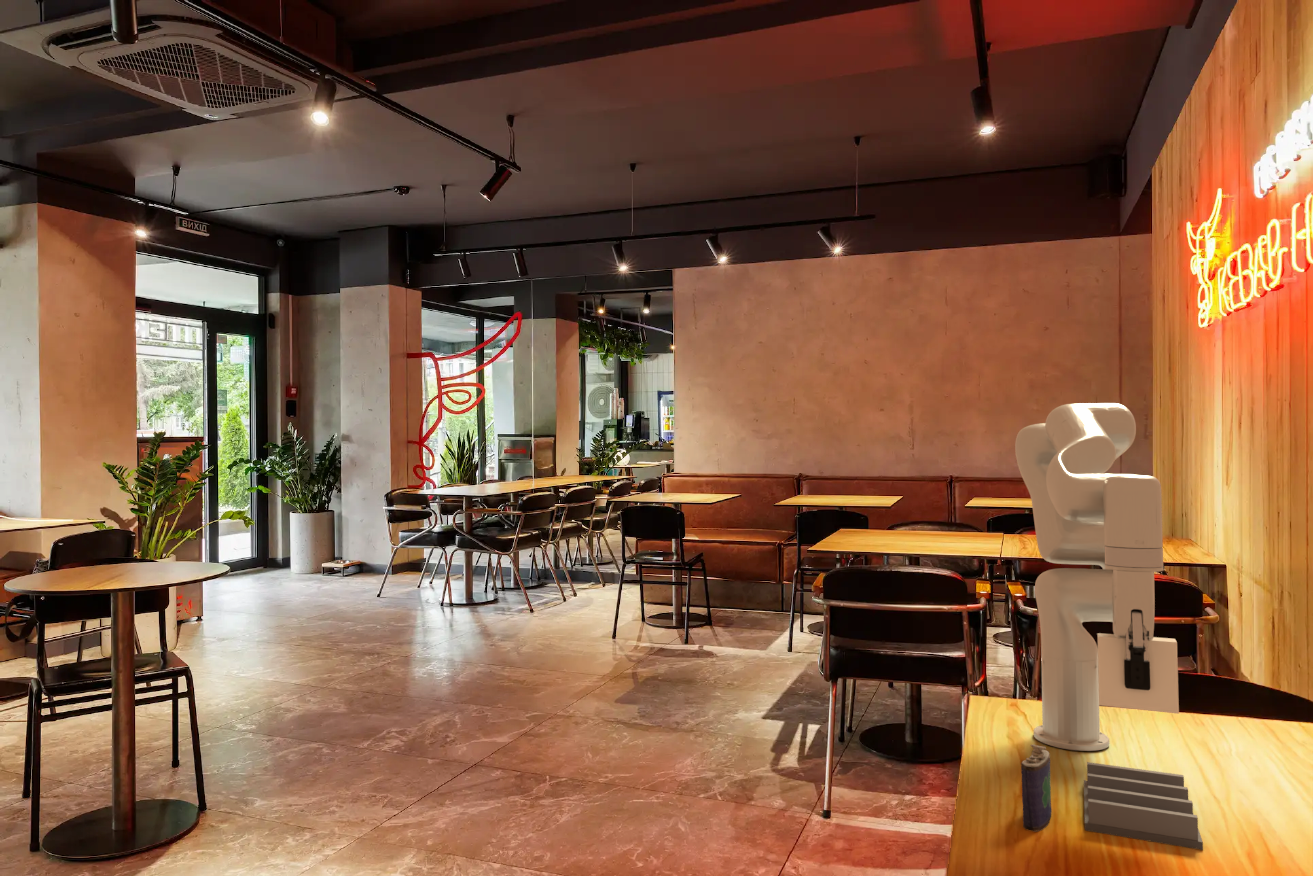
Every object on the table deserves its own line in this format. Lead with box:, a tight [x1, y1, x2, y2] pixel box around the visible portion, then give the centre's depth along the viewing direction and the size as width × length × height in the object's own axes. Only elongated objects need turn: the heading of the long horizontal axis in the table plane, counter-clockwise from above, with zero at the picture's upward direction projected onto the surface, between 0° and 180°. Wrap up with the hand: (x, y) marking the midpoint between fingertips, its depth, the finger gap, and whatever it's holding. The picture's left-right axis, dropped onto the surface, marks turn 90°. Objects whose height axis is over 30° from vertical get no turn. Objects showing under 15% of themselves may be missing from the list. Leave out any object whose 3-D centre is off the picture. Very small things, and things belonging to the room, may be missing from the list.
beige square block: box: [1096, 632, 1180, 714], centre depth 125 cm, size 3×10×10 cm, turn 64°
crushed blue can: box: [1020, 743, 1053, 832], centre depth 123 cm, size 9×3×11 cm, turn 144°
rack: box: [1083, 761, 1204, 851], centre depth 125 cm, size 18×14×4 cm
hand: (1136, 684), depth 125 cm, fingers closed on beige square block, 3 cm apart
